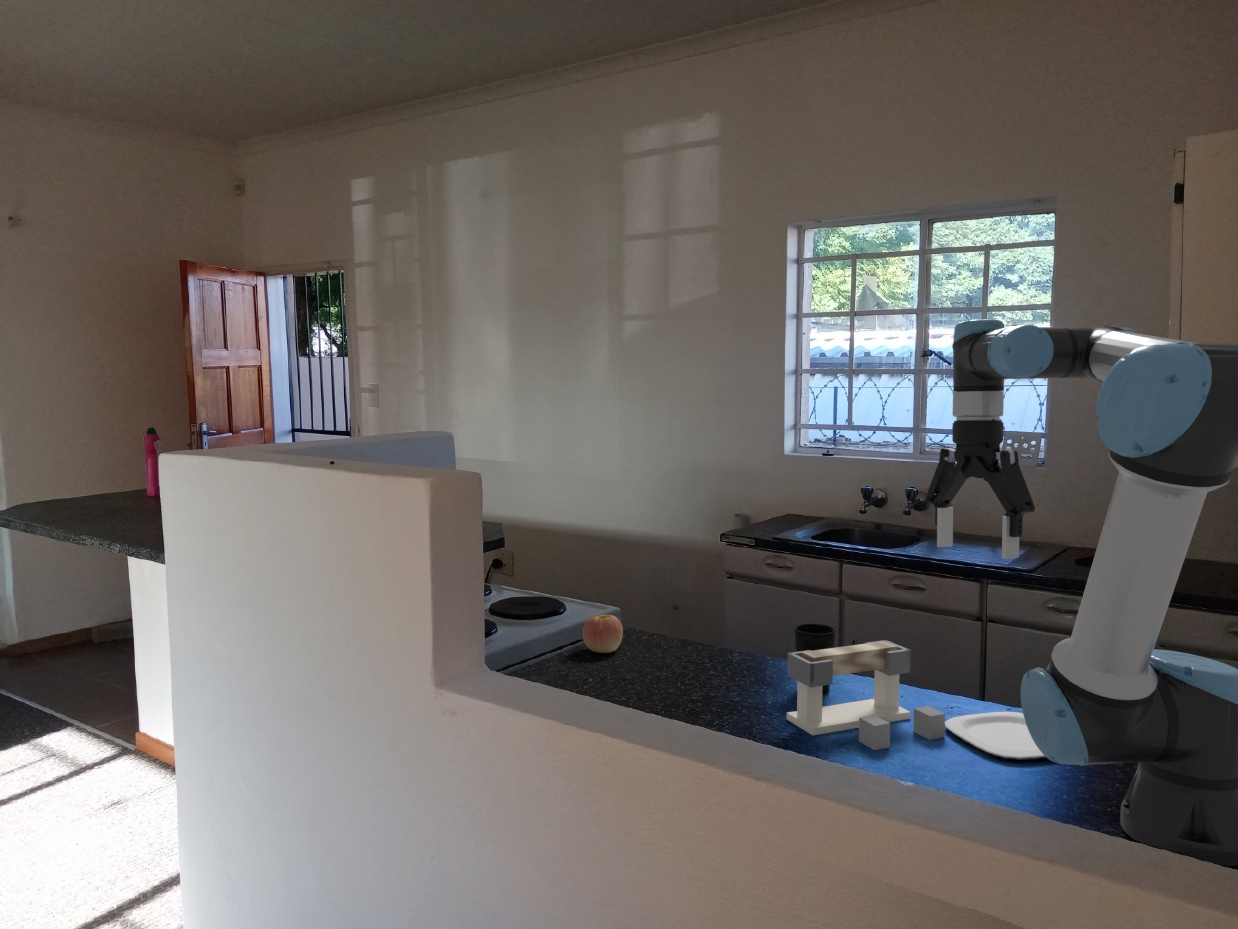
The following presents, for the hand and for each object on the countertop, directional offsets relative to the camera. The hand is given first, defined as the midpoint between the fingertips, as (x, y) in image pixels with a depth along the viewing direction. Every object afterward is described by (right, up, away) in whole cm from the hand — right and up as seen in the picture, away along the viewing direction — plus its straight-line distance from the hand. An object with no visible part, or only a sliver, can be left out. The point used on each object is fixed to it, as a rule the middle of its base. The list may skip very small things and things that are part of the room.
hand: (976, 552), depth 144 cm
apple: (-61, -27, +55) cm, 86 cm away
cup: (-20, -29, +28) cm, 45 cm away
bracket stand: (-17, -30, +13) cm, 37 cm away
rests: (-11, -31, +4) cm, 33 cm away
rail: (-17, -22, +12) cm, 30 cm away
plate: (+7, -32, +3) cm, 33 cm away
